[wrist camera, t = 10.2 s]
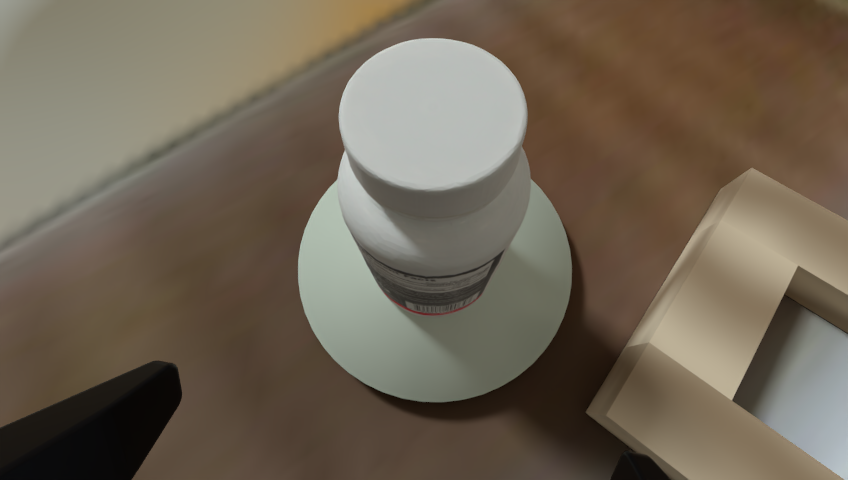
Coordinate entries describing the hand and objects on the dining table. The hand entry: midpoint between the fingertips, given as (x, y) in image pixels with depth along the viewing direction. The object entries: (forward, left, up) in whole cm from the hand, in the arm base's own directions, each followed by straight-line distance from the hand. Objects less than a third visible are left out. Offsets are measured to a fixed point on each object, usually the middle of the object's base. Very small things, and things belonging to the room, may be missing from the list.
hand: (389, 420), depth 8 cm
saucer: (+6, -2, -9) cm, 11 cm away
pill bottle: (+6, -2, -8) cm, 10 cm away
